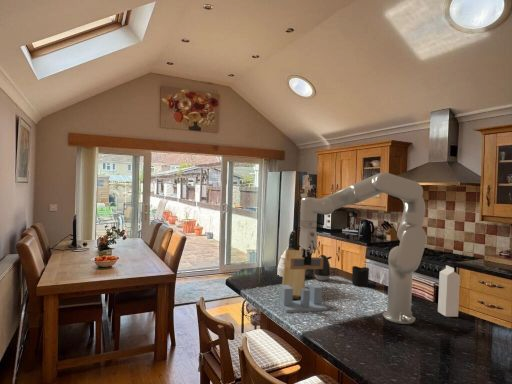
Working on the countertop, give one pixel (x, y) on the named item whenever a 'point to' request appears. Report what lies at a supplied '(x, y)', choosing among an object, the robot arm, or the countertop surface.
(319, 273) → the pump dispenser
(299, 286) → the knife block
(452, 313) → the milk
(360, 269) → the pen holder
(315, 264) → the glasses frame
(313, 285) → the gray blocky stand
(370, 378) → the countertop surface
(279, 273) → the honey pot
